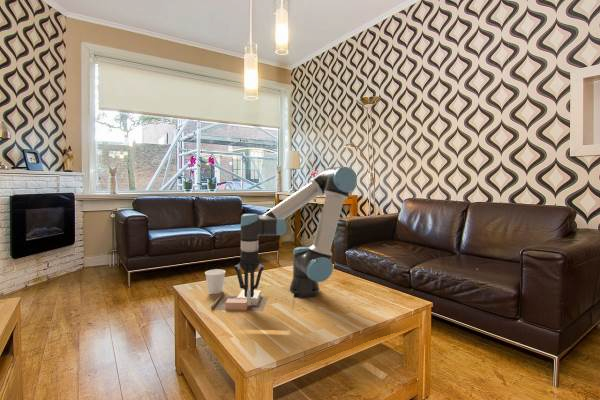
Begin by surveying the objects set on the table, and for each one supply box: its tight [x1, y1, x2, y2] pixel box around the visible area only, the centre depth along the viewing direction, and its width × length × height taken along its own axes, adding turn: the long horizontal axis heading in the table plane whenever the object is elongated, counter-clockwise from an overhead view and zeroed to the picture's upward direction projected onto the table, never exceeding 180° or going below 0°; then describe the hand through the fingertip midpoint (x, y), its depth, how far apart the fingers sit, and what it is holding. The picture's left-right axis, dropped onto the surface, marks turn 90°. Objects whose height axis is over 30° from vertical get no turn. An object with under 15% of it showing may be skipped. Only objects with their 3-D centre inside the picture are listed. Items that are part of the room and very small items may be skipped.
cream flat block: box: [237, 289, 262, 305], centre depth 146 cm, size 9×11×3 cm
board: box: [210, 291, 269, 312], centre depth 143 cm, size 22×17×3 cm
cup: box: [204, 268, 226, 296], centre depth 157 cm, size 10×10×11 cm
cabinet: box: [225, 298, 249, 311], centre depth 138 cm, size 9×5×3 cm, turn 88°
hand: (249, 304), depth 137 cm, fingers closed
